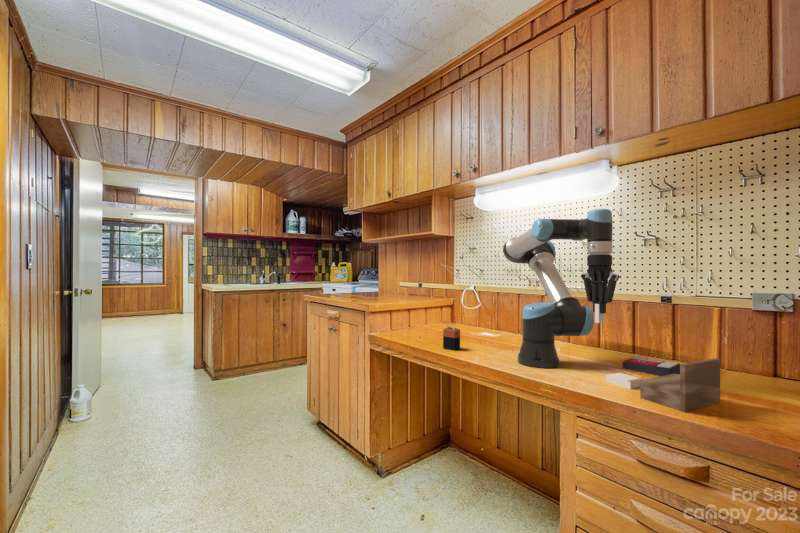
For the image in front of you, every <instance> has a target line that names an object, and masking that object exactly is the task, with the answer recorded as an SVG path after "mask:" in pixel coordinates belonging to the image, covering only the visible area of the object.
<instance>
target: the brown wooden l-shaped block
mask: <svg viewBox="0 0 800 533" xmlns="http://www.w3.org/2000/svg"><path fill="white" fill-rule="evenodd" d="M679 364H680V374H670V375H665V376H655V377H650V378H644V379H645V380H640V387H639V390H640V393H639V396H640V399H643V400H646V401H650V402H652V403H656V404H657V405H661V406H665V407H668V408H671V409H674V410H677V411H680V412H683V413H687V412H690V411H691V410H692V411H695V410H698V408H699V409H703V408H705V406H706V407H709V406H711V405H712V404H713V405H716V404H719V403H721V359H720V358H715V357H714V358H709V359H704V360H703V359H702V360H697V361H692V362H687V363H682V364H681V363H679ZM694 409H695V410H694Z"/></svg>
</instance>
